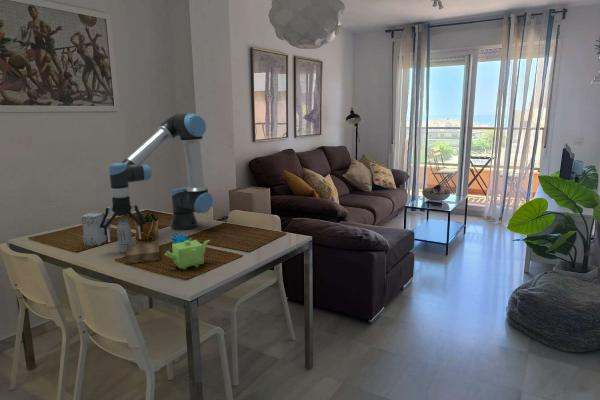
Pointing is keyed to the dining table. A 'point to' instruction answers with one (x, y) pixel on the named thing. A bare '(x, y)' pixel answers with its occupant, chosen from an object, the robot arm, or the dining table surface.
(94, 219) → the circuit breaker
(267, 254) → the dining table surface
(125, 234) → the energy drink can
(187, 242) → the kettle
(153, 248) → the stand
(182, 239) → the gear
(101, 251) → the dining table surface
